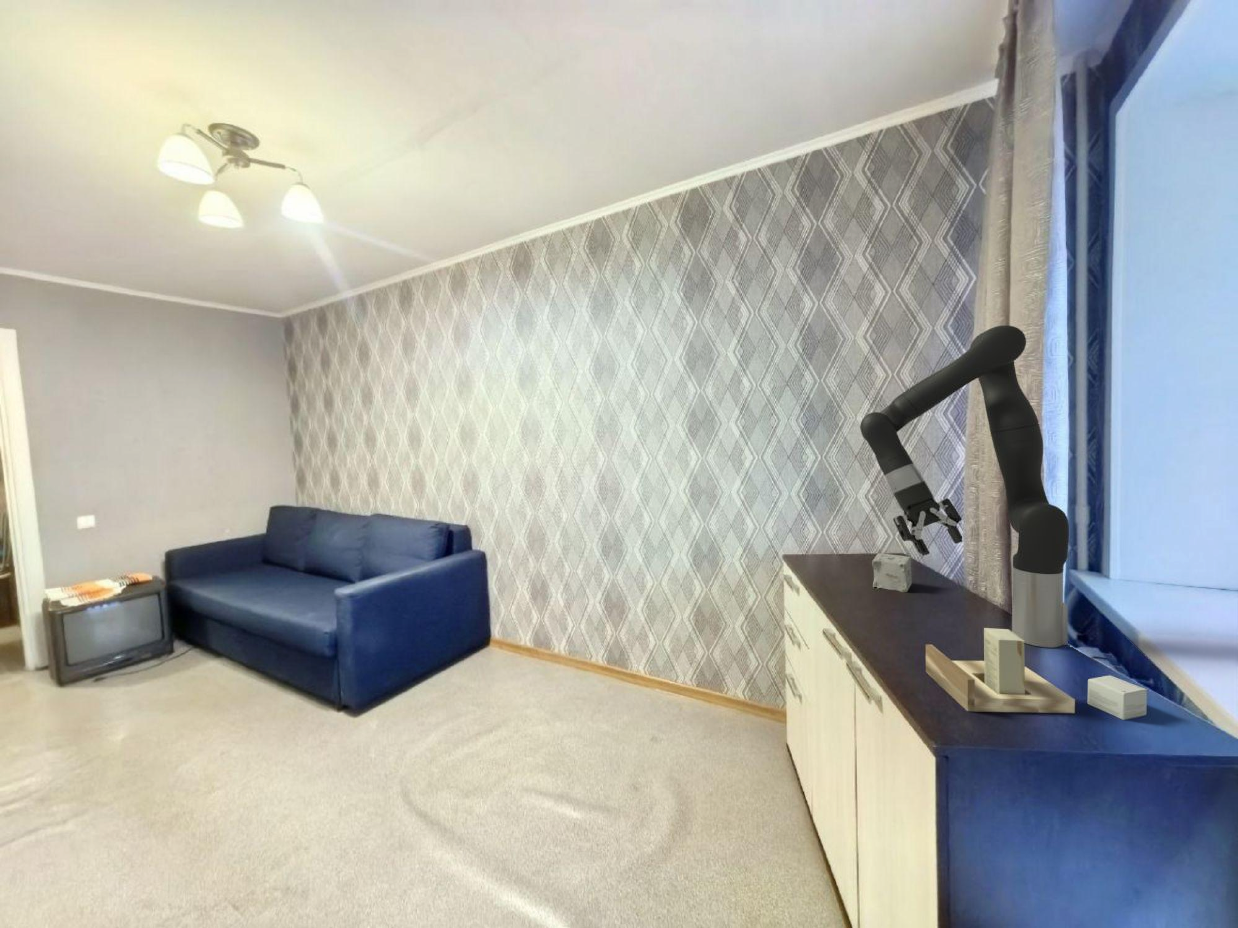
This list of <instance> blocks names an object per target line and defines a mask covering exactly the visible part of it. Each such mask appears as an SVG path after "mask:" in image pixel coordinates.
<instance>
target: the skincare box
mask: <svg viewBox="0 0 1238 928" xmlns="http://www.w3.org/2000/svg"><path fill="white" fill-rule="evenodd" d="M983 646H984V647H983V654H984V657H983V658H984V660H983V661H984V668H985V685H987V686H988V687H989V688H990V689H992V690H993V691H994V692H995V693H997V694H1017V695H1025V667H1026V666H1025V665H1026V664H1025V657H1026V655H1025V643H1024V640H1023V639H1021V638H1020V637H1019V636H1017V635H1016V634H1014V633H1013V632H1012V630H1010V629H1008V628H994V627H993V628H990V627H984V628H983Z"/></svg>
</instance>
